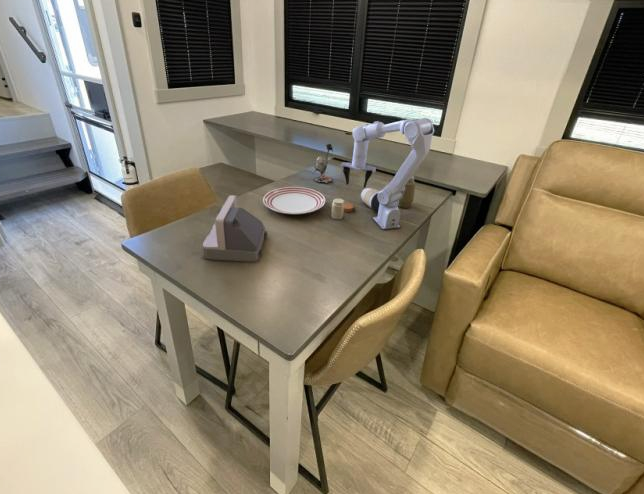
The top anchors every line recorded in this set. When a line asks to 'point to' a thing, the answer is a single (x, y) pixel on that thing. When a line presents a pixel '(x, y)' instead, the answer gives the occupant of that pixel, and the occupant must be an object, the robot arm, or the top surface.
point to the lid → (348, 207)
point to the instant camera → (234, 234)
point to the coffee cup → (371, 198)
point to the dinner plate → (294, 200)
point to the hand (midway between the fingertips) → (356, 185)
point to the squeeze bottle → (408, 194)
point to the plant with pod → (322, 166)
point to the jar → (337, 209)
